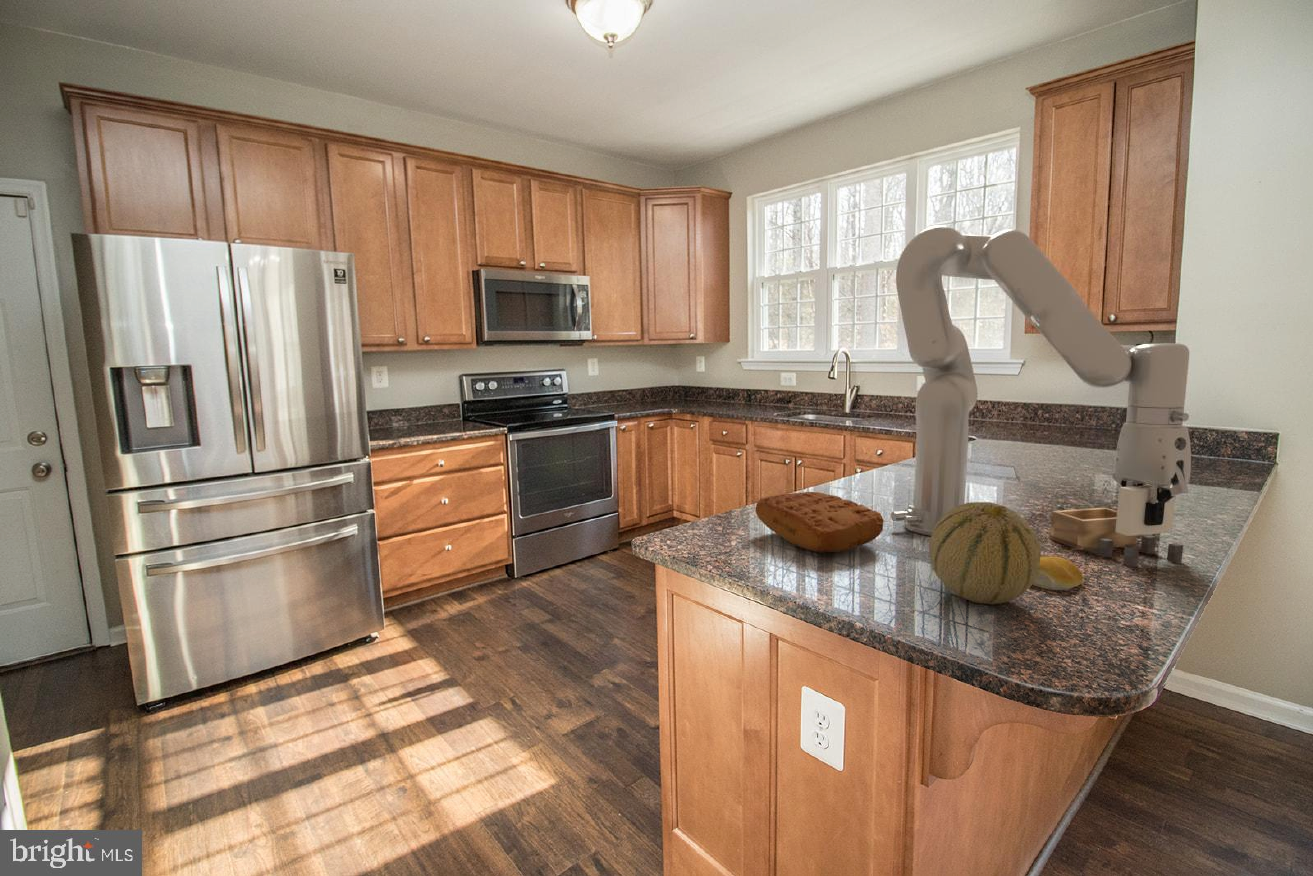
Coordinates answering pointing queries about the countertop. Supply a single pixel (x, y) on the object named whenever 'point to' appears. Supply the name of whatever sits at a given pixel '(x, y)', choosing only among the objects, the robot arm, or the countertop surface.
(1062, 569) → the bread roll
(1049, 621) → the countertop surface
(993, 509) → the cantaloupe
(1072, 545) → the open wooden box
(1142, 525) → the white block
